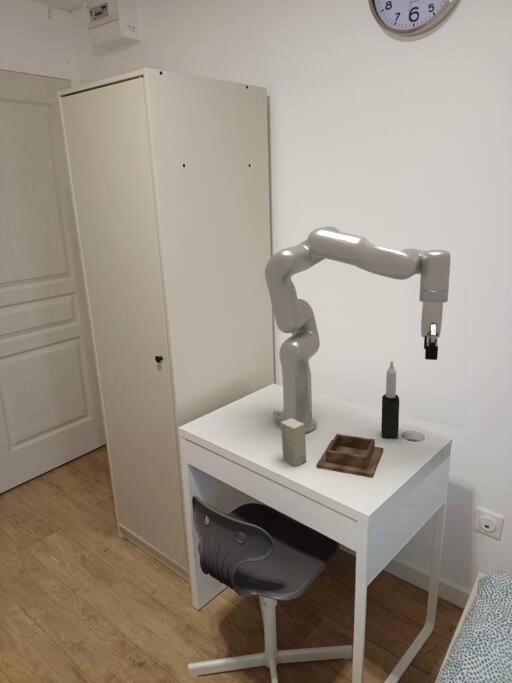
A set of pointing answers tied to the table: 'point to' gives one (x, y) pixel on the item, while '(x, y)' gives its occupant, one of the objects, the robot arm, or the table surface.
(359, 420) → the table surface
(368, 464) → the tray
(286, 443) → the skincare box
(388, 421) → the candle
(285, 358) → the robot arm
